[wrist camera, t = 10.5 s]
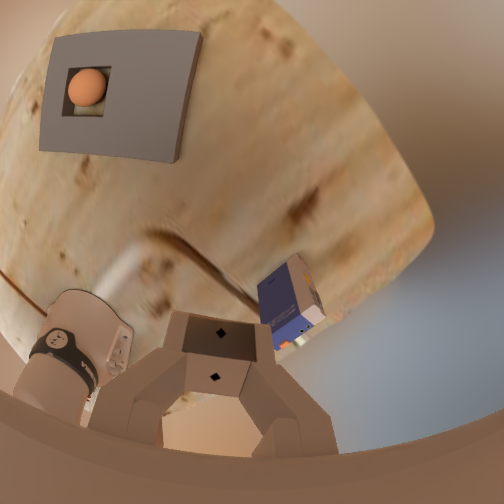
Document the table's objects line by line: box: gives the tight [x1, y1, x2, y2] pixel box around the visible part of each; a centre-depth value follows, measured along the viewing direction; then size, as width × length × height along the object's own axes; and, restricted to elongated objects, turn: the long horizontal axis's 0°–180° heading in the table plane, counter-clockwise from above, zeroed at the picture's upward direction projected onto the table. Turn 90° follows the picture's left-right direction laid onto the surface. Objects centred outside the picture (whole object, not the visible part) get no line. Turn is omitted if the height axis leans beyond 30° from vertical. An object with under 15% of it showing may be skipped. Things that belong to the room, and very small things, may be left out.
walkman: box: [257, 253, 326, 351], centre depth 37 cm, size 8×3×12 cm, turn 134°
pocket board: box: [39, 30, 203, 164], centre depth 28 cm, size 16×20×3 cm
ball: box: [68, 69, 106, 107], centre depth 26 cm, size 5×5×5 cm
